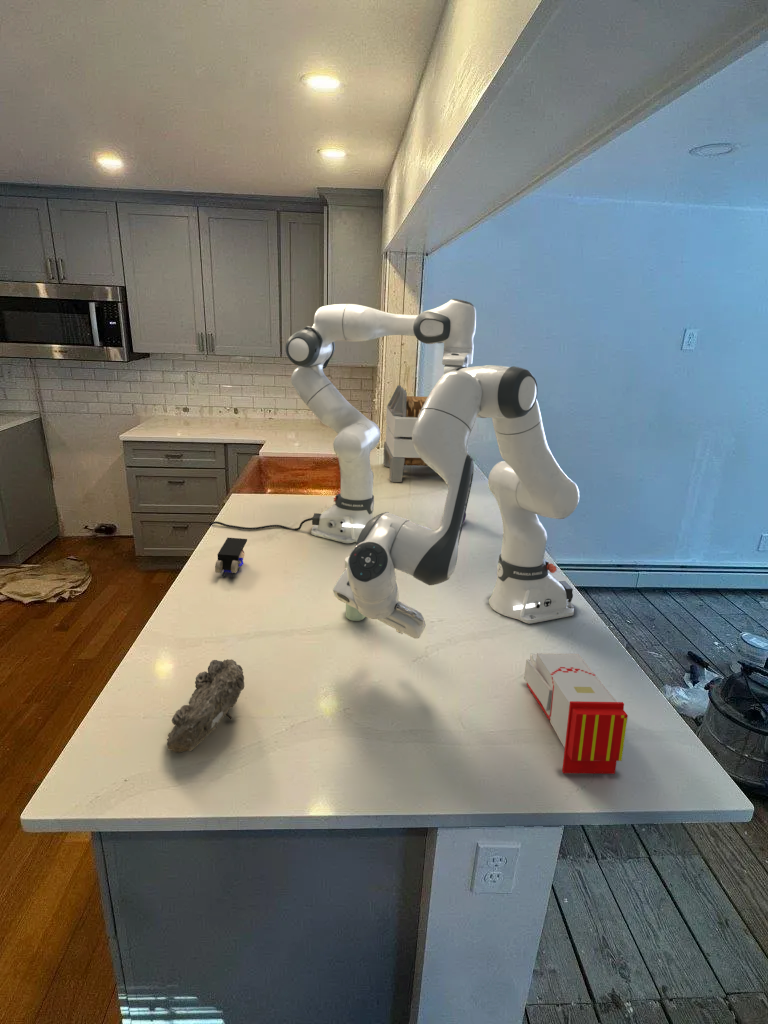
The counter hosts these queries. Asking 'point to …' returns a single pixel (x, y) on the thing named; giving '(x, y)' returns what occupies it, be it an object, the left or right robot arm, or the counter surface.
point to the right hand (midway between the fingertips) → (382, 620)
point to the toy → (578, 711)
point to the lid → (346, 561)
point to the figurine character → (230, 556)
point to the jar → (353, 613)
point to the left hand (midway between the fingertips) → (454, 403)
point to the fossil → (206, 705)
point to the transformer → (401, 433)
